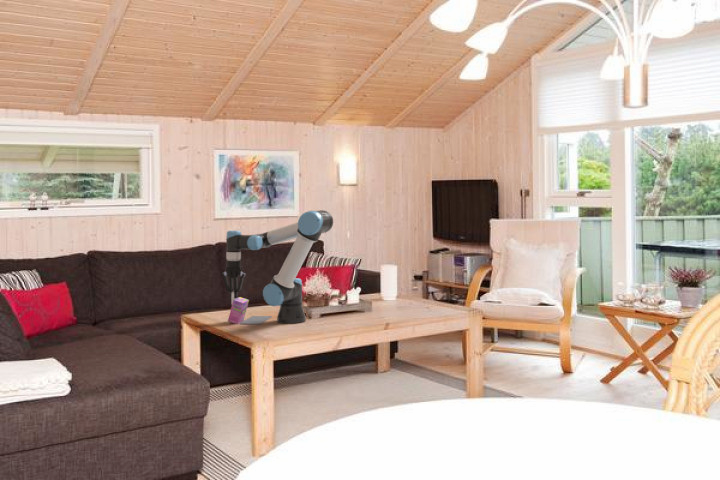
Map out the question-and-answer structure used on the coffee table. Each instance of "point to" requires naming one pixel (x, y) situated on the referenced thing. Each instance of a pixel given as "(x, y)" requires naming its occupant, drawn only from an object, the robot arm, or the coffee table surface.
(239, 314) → the box
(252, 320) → the felt mat
